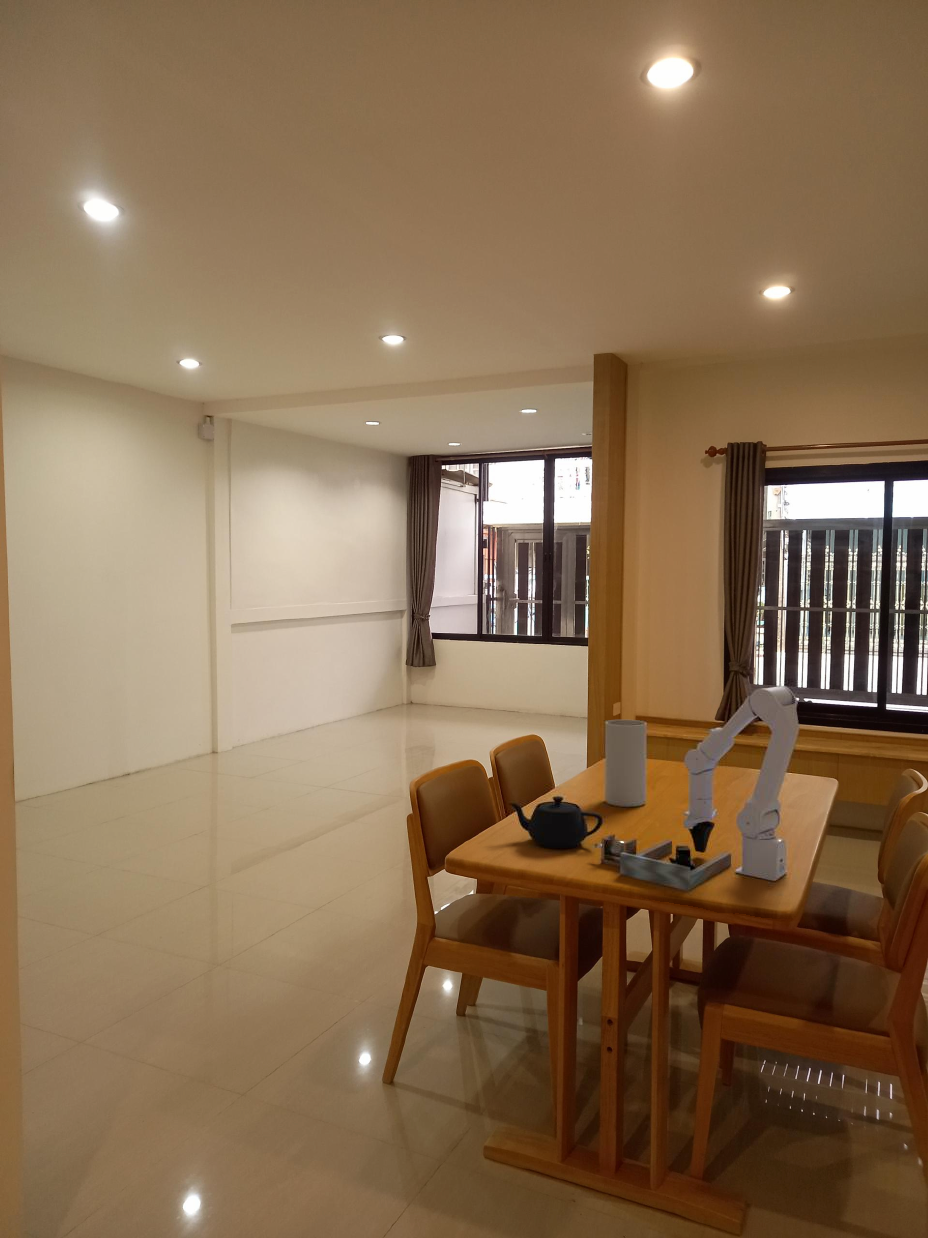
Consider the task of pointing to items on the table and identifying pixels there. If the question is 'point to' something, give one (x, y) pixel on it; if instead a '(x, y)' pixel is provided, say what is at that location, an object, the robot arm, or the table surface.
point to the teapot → (557, 823)
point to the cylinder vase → (625, 763)
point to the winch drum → (615, 849)
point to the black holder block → (683, 857)
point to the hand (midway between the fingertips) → (700, 851)
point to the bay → (669, 867)
